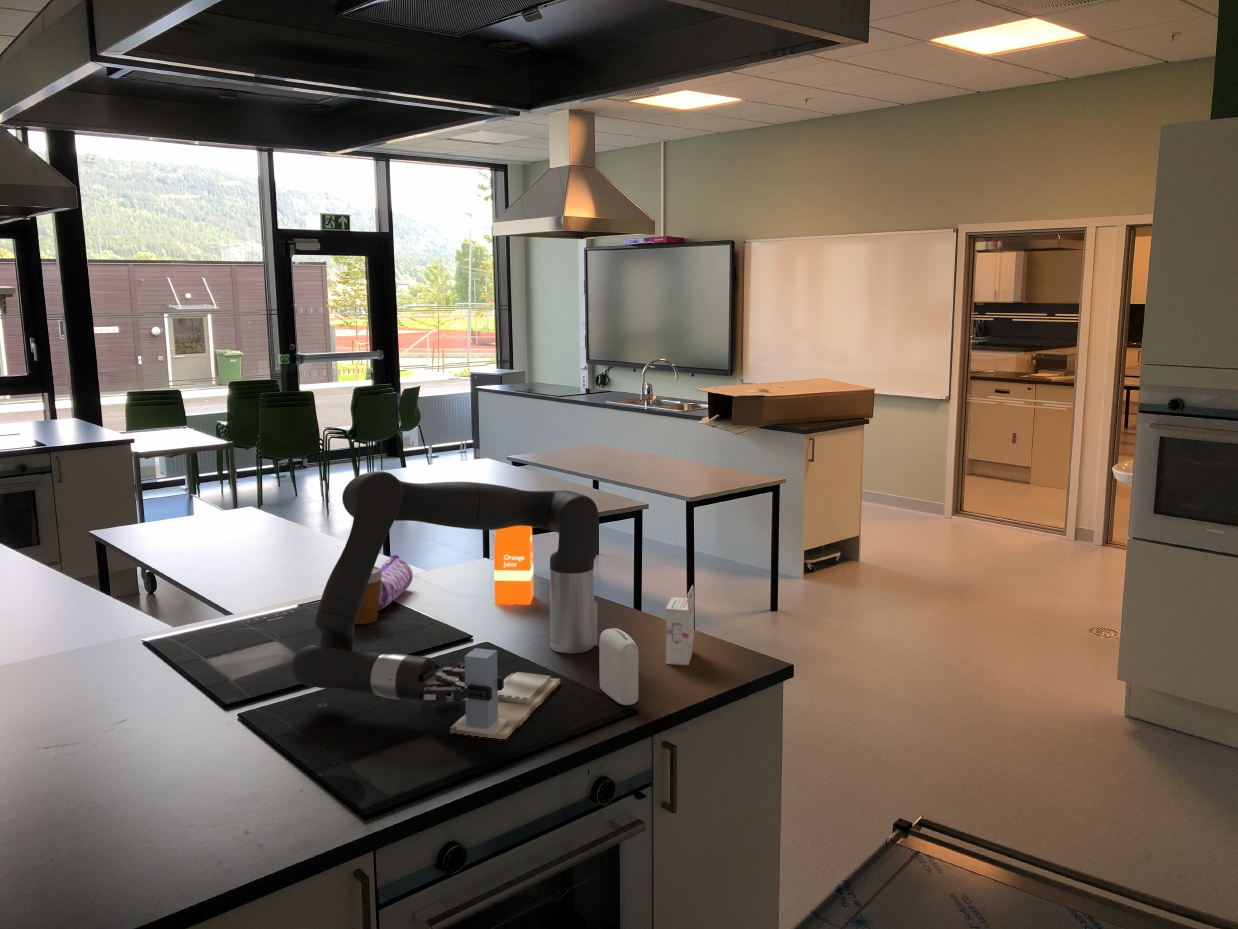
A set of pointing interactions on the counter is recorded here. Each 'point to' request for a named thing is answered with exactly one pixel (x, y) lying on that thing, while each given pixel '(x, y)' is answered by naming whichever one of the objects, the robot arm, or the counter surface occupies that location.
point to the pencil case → (393, 580)
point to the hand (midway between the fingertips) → (496, 688)
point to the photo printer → (618, 666)
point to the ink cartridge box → (680, 629)
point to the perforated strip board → (517, 701)
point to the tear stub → (479, 711)
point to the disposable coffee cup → (370, 598)
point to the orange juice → (513, 565)
